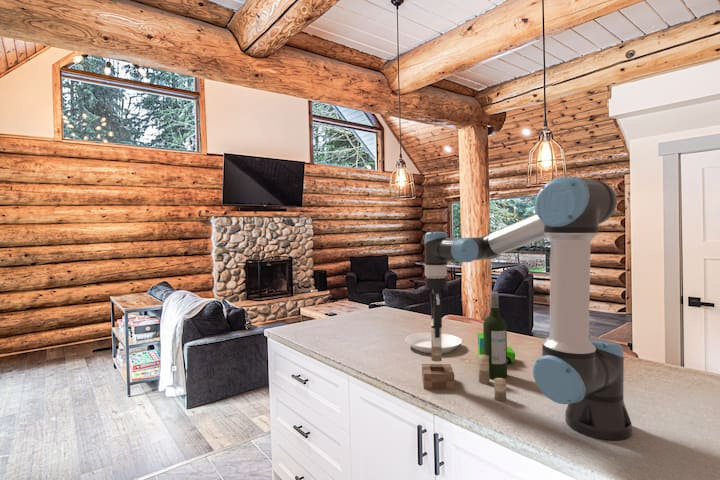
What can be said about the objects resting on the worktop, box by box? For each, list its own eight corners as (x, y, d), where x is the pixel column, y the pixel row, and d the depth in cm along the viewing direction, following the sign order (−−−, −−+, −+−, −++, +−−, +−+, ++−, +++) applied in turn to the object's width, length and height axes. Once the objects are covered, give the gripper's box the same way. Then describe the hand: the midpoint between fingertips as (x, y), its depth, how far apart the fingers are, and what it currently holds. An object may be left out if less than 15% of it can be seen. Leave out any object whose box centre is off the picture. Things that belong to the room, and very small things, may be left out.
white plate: (402, 354, 171) (401, 346, 171) (409, 339, 195) (408, 331, 195) (462, 357, 165) (462, 349, 165) (461, 341, 189) (461, 333, 189)
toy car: (516, 366, 153) (516, 340, 153) (480, 364, 156) (480, 339, 156) (511, 357, 163) (511, 333, 163) (478, 356, 166) (477, 332, 166)
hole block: (454, 389, 132) (454, 374, 132) (424, 388, 133) (423, 373, 133) (450, 378, 142) (450, 364, 142) (422, 377, 143) (421, 363, 143)
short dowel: (507, 401, 122) (507, 382, 122) (496, 401, 122) (496, 381, 122) (504, 396, 125) (504, 377, 125) (493, 396, 126) (493, 377, 125)
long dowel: (442, 361, 136) (441, 320, 135) (431, 361, 136) (431, 320, 135) (441, 358, 139) (440, 318, 139) (431, 358, 139) (430, 318, 139)
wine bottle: (496, 370, 149) (495, 290, 148) (512, 377, 141) (511, 293, 141) (479, 373, 146) (478, 291, 145) (493, 381, 138) (492, 294, 138)
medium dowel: (490, 383, 136) (489, 357, 136) (480, 383, 136) (479, 357, 136) (488, 380, 139) (487, 354, 139) (478, 380, 140) (477, 354, 139)
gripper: (450, 280, 128) (450, 352, 129) (444, 274, 144) (444, 338, 145) (426, 280, 129) (427, 352, 129) (423, 274, 145) (423, 338, 146)
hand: (436, 344), depth 137 cm, fingers closed on long dowel, 3 cm apart
